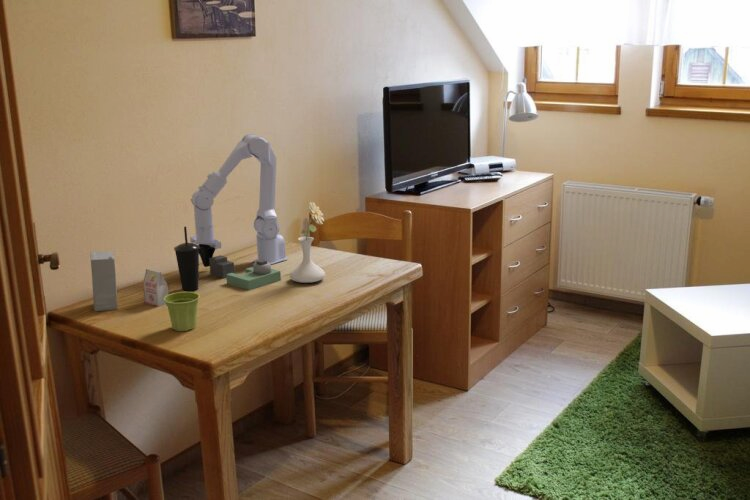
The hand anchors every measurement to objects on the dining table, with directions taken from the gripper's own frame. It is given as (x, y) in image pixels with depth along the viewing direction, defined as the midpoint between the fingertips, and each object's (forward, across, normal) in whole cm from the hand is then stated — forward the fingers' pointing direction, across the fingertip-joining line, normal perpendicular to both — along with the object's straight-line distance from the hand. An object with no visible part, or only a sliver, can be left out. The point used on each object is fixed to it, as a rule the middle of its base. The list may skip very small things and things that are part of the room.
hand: (207, 266), depth 260 cm
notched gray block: (+2, +8, 0) cm, 8 cm away
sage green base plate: (+2, +22, +2) cm, 22 cm away
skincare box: (+2, +7, -41) cm, 42 cm away
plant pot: (+2, +40, -37) cm, 54 cm away
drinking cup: (+2, +13, -16) cm, 21 cm away
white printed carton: (+2, +16, -30) cm, 34 cm away
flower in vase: (+2, +35, +14) cm, 38 cm away
